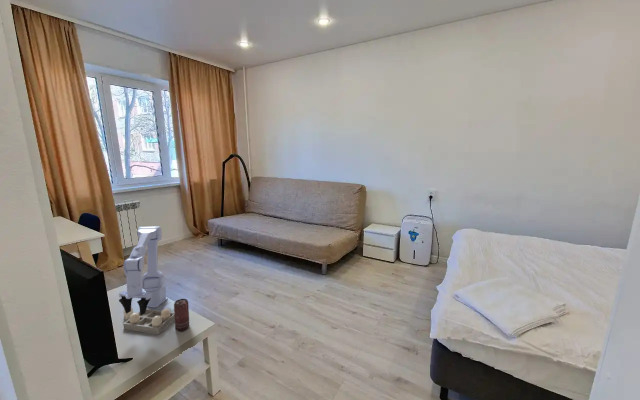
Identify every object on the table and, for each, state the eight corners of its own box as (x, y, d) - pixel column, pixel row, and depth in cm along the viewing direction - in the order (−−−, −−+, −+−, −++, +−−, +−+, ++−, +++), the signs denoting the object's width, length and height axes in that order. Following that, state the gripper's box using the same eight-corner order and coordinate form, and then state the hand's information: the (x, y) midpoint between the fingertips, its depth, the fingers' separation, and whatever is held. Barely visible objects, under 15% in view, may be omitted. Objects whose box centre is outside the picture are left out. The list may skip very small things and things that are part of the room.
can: (184, 333, 127) (182, 306, 124) (172, 330, 128) (170, 304, 125) (192, 325, 132) (191, 299, 130) (181, 323, 134) (179, 297, 131)
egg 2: (134, 320, 132) (133, 310, 131) (142, 321, 132) (141, 311, 131) (128, 325, 128) (127, 315, 127) (135, 327, 128) (134, 316, 127)
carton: (143, 313, 139) (143, 308, 139) (176, 318, 137) (175, 312, 137) (123, 329, 127) (123, 323, 127) (158, 334, 125) (158, 328, 125)
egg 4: (165, 316, 136) (164, 306, 135) (172, 317, 136) (171, 307, 135) (159, 321, 133) (158, 311, 132) (166, 322, 132) (166, 312, 131)
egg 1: (128, 314, 138) (127, 304, 137) (135, 315, 138) (134, 305, 137) (121, 319, 134) (120, 309, 133) (129, 320, 134) (128, 310, 133)
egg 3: (156, 323, 131) (155, 313, 130) (164, 324, 130) (163, 314, 129) (150, 329, 127) (149, 318, 126) (158, 330, 126) (157, 319, 125)
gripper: (112, 286, 119) (113, 315, 120) (141, 288, 117) (142, 318, 118) (126, 280, 126) (127, 308, 127) (153, 282, 124) (154, 311, 125)
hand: (135, 313), depth 123 cm, fingers open, 7 cm apart
